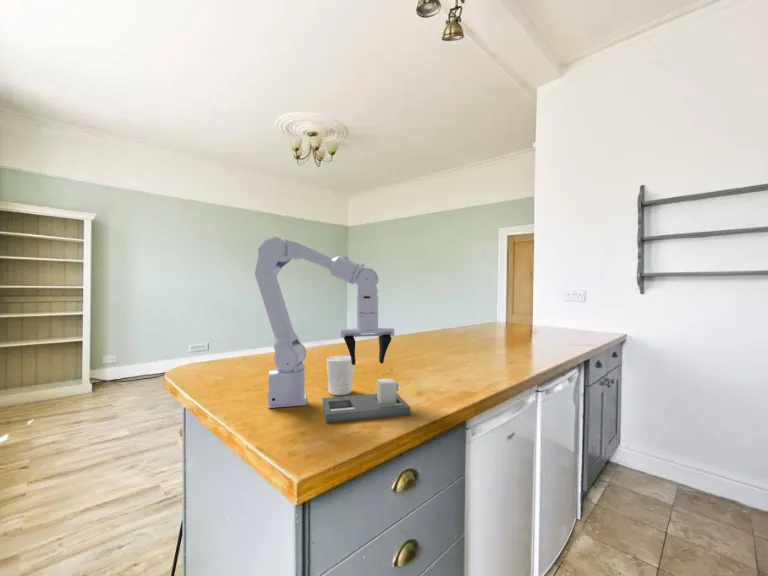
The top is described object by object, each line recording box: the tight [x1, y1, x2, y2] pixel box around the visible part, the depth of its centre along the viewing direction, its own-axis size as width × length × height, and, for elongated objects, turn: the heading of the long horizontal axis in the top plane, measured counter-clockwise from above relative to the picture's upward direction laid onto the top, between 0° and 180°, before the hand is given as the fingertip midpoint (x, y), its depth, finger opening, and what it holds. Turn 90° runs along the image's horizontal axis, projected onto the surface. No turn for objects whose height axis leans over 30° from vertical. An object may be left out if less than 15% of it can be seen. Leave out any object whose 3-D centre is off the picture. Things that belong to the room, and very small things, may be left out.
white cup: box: [326, 355, 354, 396], centre depth 103 cm, size 8×8×10 cm
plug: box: [376, 378, 399, 405], centre depth 89 cm, size 5×4×7 cm
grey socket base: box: [321, 392, 411, 424], centre depth 87 cm, size 20×12×2 cm, turn 104°
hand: (367, 363), depth 94 cm, fingers open, 7 cm apart
